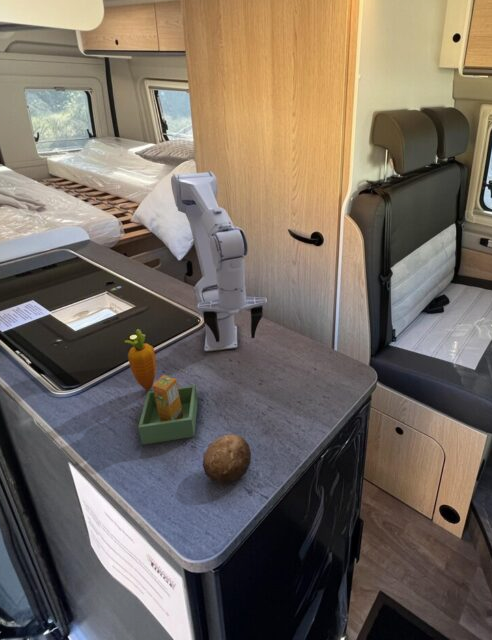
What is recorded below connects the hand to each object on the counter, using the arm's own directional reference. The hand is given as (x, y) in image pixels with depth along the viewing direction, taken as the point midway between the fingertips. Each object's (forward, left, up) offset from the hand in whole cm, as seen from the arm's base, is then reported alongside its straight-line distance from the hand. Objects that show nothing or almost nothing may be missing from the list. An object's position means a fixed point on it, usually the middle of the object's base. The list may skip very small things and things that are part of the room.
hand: (235, 337), depth 88 cm
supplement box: (+13, -13, -9) cm, 20 cm away
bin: (+13, -13, -9) cm, 21 cm away
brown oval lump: (+26, -2, -10) cm, 28 cm away
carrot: (+3, -19, -10) cm, 22 cm away
